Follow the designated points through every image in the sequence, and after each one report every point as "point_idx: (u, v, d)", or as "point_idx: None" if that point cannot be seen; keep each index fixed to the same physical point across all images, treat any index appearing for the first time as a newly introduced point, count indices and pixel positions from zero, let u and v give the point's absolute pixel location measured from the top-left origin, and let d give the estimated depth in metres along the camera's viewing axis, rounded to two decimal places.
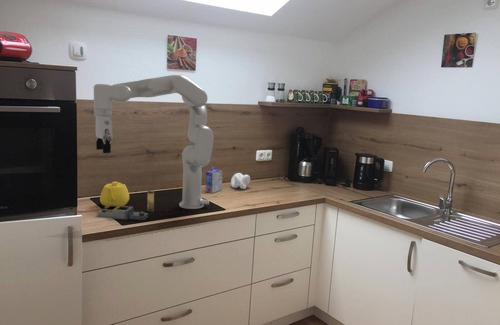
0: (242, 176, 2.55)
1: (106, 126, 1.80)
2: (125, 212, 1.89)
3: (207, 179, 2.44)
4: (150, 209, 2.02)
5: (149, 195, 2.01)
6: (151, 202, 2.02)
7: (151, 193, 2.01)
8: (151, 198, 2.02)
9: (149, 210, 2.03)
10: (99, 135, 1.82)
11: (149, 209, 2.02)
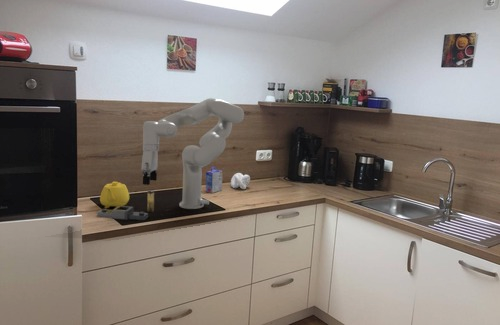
0: (242, 176, 2.55)
1: None
2: (125, 212, 1.89)
3: (208, 179, 2.44)
4: (150, 209, 2.02)
5: (149, 195, 2.01)
6: (151, 202, 2.02)
7: (151, 193, 2.01)
8: (151, 198, 2.02)
9: (149, 210, 2.03)
10: (155, 167, 2.01)
11: (149, 209, 2.02)
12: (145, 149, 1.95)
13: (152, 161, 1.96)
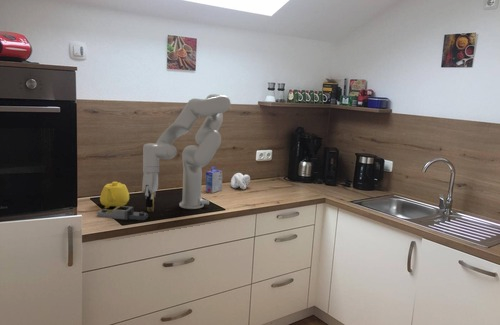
0: (242, 176, 2.55)
1: None
2: (125, 212, 1.89)
3: (208, 179, 2.44)
4: (150, 209, 2.02)
5: None
6: None
7: None
8: None
9: (149, 210, 2.03)
10: (156, 188, 2.04)
11: (149, 209, 2.02)
12: (145, 171, 1.97)
13: (152, 183, 1.98)
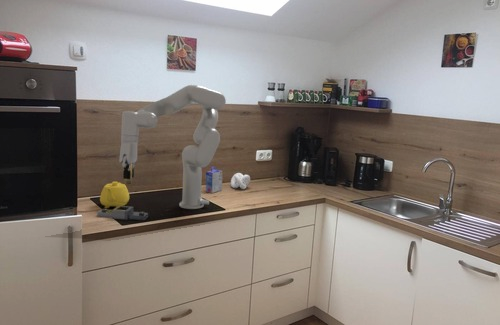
0: (242, 176, 2.55)
1: None
2: (125, 212, 1.89)
3: (208, 179, 2.44)
4: (127, 182, 1.91)
5: None
6: None
7: None
8: None
9: (127, 182, 1.91)
10: (135, 159, 1.92)
11: (127, 181, 1.91)
12: (123, 140, 1.86)
13: (130, 153, 1.86)
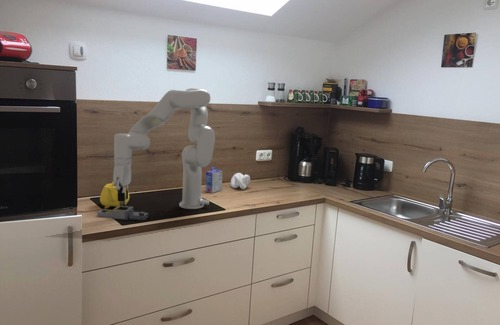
0: (242, 176, 2.55)
1: None
2: (125, 212, 1.89)
3: (207, 179, 2.44)
4: (122, 204, 1.91)
5: (121, 188, 1.89)
6: None
7: None
8: None
9: (121, 204, 1.91)
10: (129, 181, 1.92)
11: (121, 203, 1.91)
12: (116, 163, 1.85)
13: (124, 175, 1.86)
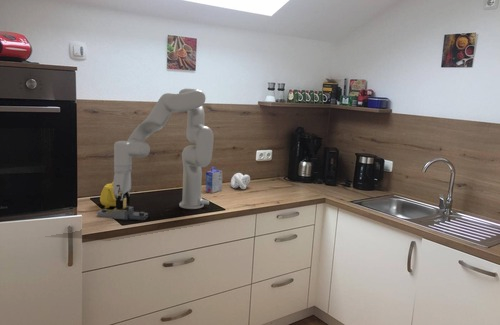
0: (242, 176, 2.55)
1: None
2: (125, 212, 1.89)
3: (208, 179, 2.44)
4: None
5: None
6: (123, 207, 1.91)
7: (123, 198, 1.90)
8: (123, 203, 1.91)
9: None
10: (129, 188, 1.92)
11: None
12: (116, 171, 1.86)
13: (124, 183, 1.86)
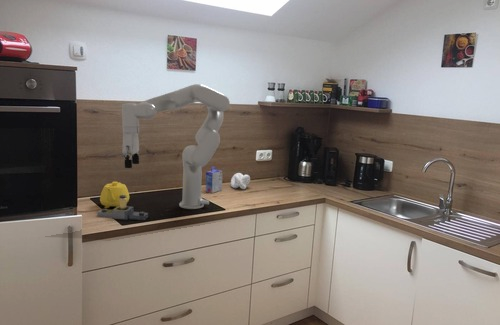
0: (242, 176, 2.55)
1: None
2: (125, 212, 1.89)
3: (208, 179, 2.44)
4: None
5: (121, 200, 1.90)
6: (123, 207, 1.91)
7: (123, 198, 1.90)
8: (123, 203, 1.91)
9: None
10: (137, 150, 1.98)
11: None
12: (125, 132, 1.91)
13: (133, 144, 1.92)
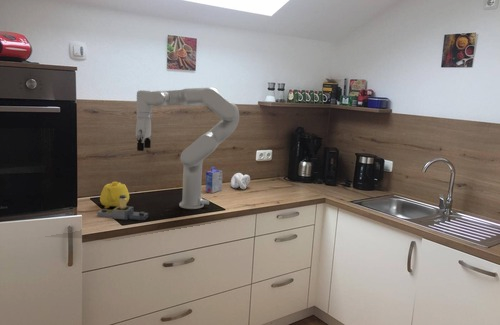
0: (242, 176, 2.55)
1: None
2: (125, 212, 1.89)
3: (208, 179, 2.44)
4: None
5: (121, 200, 1.90)
6: (123, 207, 1.91)
7: (123, 198, 1.90)
8: (123, 203, 1.91)
9: None
10: (149, 134, 2.12)
11: None
12: (139, 117, 2.05)
13: (145, 128, 2.06)
